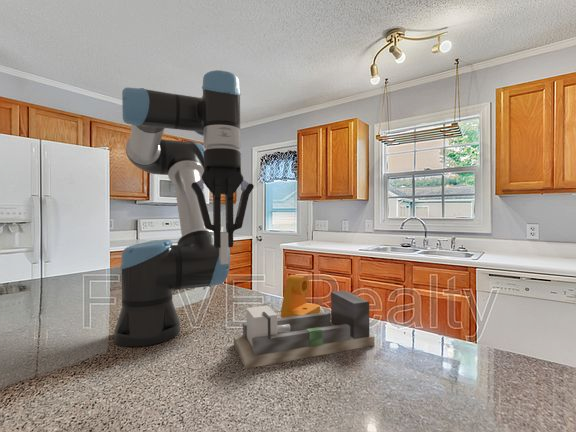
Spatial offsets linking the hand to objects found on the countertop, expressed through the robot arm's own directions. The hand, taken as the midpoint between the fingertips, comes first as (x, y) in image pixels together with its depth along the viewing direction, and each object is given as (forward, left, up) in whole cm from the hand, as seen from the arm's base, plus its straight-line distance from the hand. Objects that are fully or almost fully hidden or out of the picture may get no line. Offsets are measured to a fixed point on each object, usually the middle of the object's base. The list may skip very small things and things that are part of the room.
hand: (223, 263), depth 66 cm
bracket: (+25, +18, -20) cm, 37 cm away
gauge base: (+18, 0, -20) cm, 27 cm away
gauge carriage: (+10, -1, -18) cm, 21 cm away
